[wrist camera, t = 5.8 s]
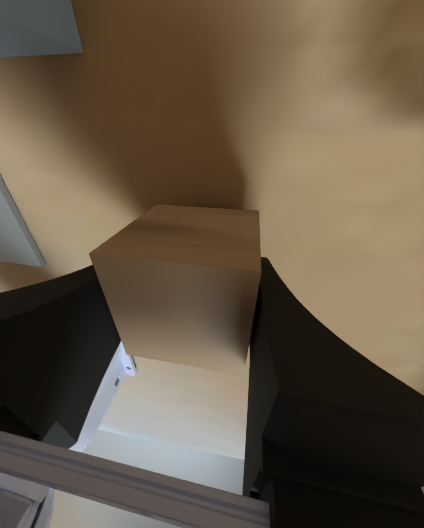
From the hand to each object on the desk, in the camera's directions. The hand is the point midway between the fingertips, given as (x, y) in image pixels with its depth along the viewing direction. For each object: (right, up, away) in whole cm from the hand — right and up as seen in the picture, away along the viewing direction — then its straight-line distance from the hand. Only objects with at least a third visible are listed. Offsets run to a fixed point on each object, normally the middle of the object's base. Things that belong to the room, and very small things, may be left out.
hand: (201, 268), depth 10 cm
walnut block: (0, +1, +1) cm, 1 cm away
